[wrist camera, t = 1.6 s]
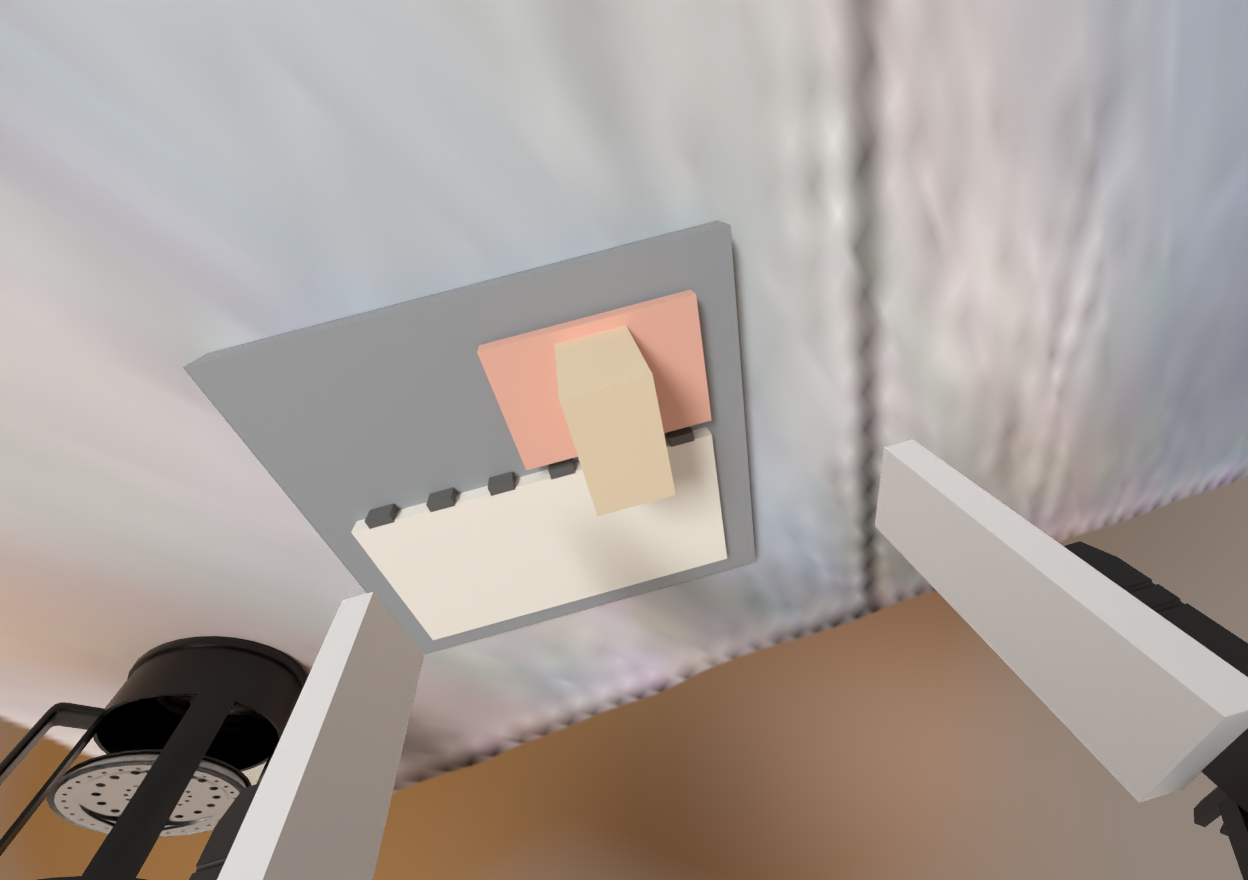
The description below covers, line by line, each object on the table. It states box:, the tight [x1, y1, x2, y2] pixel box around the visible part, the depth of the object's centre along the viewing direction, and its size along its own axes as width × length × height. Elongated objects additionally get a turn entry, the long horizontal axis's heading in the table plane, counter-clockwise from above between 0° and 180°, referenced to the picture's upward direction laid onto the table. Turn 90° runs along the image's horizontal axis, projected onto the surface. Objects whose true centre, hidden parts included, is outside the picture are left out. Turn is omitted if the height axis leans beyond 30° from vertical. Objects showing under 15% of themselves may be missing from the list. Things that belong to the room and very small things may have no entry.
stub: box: [477, 290, 711, 516], centre depth 18 cm, size 9×6×6 cm, turn 102°
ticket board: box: [183, 221, 756, 655], centre depth 23 cm, size 22×20×2 cm
